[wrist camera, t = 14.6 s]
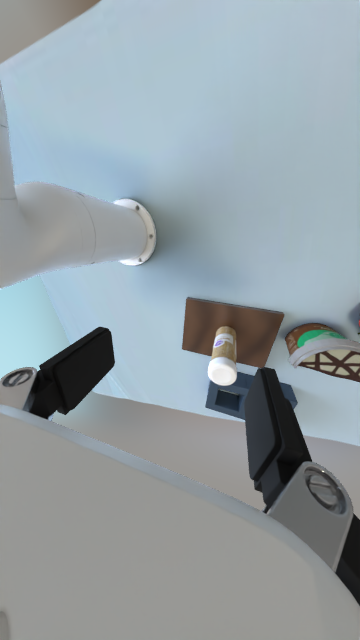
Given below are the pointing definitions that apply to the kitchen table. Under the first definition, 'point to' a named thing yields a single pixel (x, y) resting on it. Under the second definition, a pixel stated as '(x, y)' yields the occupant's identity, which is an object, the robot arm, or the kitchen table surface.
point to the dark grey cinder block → (236, 403)
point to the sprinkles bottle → (223, 357)
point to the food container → (324, 351)
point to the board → (249, 324)
